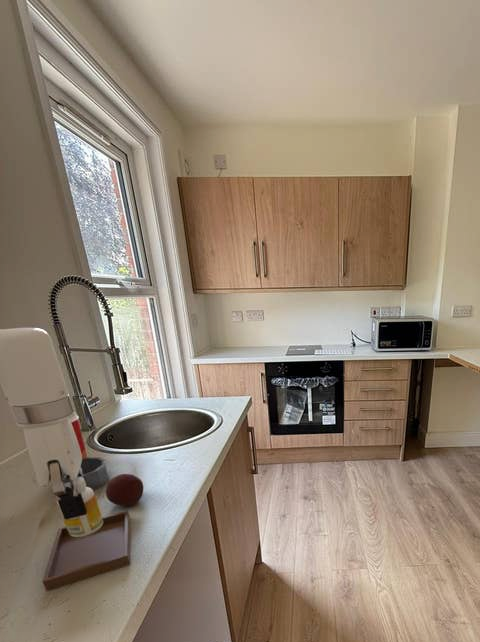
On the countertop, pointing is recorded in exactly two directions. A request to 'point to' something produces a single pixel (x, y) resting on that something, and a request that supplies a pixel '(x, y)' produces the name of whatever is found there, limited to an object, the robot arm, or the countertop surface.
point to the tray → (89, 552)
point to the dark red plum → (124, 489)
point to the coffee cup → (78, 434)
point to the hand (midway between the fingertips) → (78, 505)
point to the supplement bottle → (91, 519)
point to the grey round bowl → (95, 472)
